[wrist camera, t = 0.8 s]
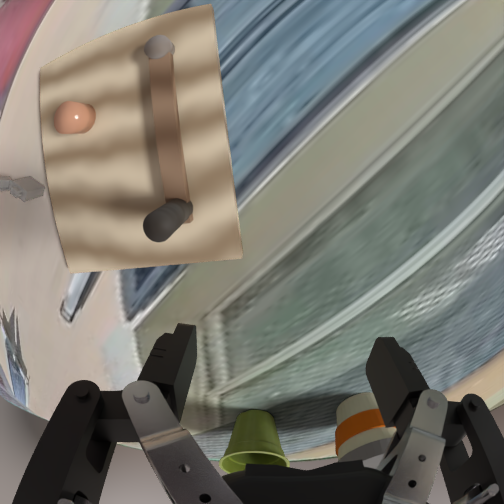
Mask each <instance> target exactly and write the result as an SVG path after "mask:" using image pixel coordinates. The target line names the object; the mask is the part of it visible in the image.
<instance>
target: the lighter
mask: <svg viewBox="0 0 504 504" xmlns="http://www.w3.org/2000/svg"><path fill="white" fill-rule="evenodd" d="M44 189H45V186H44V185H43V184H41V183H40V182H38V181H37V180H35V179H34V178H33V177H31V176H29V177H25V178H21V179H17V180H13V181H12V180H11V178H10V177H7V176H0V191H9V190H10V194H12V195H13V196H14V197H15V198H20V199H21V200H22V201H24V202H26V201H28V200H31V199H34V198H37V197H40V196H43V193H44Z"/></svg>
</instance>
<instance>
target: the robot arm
mask: <svg viewBox="0 0 504 504" xmlns="http://www.w3.org/2000/svg"><path fill="white" fill-rule="evenodd" d="M196 359H197V339H196V326H195V325H189V324H182V323H178V324H177V327H176V329H175V331H174V333H173V334H170V333H164V334H163V335H162V336H161V337H159V338H158V339H157V340H156V342H155V344H154V346H153V349H152V351H151V353H150V356H149V357H148V359H147V361H146V363H145V365H144V367H143V369H142V371H141V373H140V375H139V377H138V380H137V381H135V382H132V383H130V384H128V385H127V386H126V387H125V388H124V389H123V390H121V391H100V389H99V387H98V386H97V385H96V384H95V383H93V382H91V381H88V380H80V381H76V382H74V383H72V384H71V385H70V386H69V387H68V388H67V390H66V391H65V393H64V395H63V397H62V398H61V400H60V402H59V404H58V406H57V408H56V409H55V411H54V413H53V415H52V417H51V419H50V421H49V423H48V424H47V427H46V429H45V430H44V432H43V434H42V436H41V438H40V440H39V442H38V445H37V447H36V449H35V451H34V453H33V455H32V457H31V459H30V462H29V464H28V466H27V468H26V470H25V473H24V475H23V478H22V480H21V482H20V485H19V487H18V490H17V492H16V495H15V497H14V500H13V503H12V504H99V500H100V496H101V493H102V489H103V486H104V482H105V479H106V476H107V472H108V469H109V466H110V462H111V459H112V456H113V453H114V450H115V447H116V444H117V442H139V443H140V445H141V447H142V449H143V451H144V453H145V455H146V457H147V459H148V461H149V463H150V465H151V467H152V468H153V470H154V472H155V474H156V476H157V478H158V479H159V481H160V483H161V485H162V487H163V489H164V490H165V492H166V494H167V495H168V497H169V499H170V500H171V502H172V503H173V504H429V503H427V500H428V497H429V494H430V491H431V489H432V486H433V483H434V480H435V477H436V474H437V471H438V467H439V465H440V468H441V471H442V474H443V477H444V481H445V484H446V487H447V491H448V494H449V498H450V502H451V504H504V438H503V436H502V434H501V432H500V430H499V428H498V426H497V424H496V422H495V420H494V418H493V416H492V415H491V413H490V411H489V409H488V407H487V406H486V404H485V402H484V401H483V399H482V398H481V397H479V396H478V395H475V394H467V395H465V396H464V397H463V399H462V400H461V402H452V401H447V399H446V397H445V396H444V395H443V394H442V393H441V392H439V391H437V390H433V389H430V388H429V386H428V385H427V383H426V381H425V379H424V377H423V376H422V374H421V372H420V370H419V369H418V367H417V365H416V364H415V363H414V360H413V359H412V357H411V355H410V354H409V353H408V352H407V351H406V350H405V349H404V348H402V347H400V346H399V345H398V343H397V341H396V340H395V338H394V337H378V338H377V339H376V341H375V343H374V346H373V348H372V351H371V353H370V356H369V358H368V361H367V363H366V375H367V378H368V381H369V383H370V386H371V389H372V391H373V394H374V397H375V399H376V402H377V405H378V408H379V410H380V413H381V416H382V419H383V422H384V424H385V427H386V428H389V427H396V431H395V433H394V434H393V436H392V439H391V441H390V443H389V445H388V447H387V449H386V451H385V453H384V455H383V457H382V459H381V461H380V463H379V465H378V466H377V468H376V469H374V468H369V467H364V465H363V460H354V461H346V462H337V463H333V464H330V465H327V466H324V467H320V468H316V469H313V470H307V471H306V470H300V469H295V468H290V467H285V466H280V465H269V464H248V463H246V466H245V470H243V471H237V472H233V473H230V474H227V475H224V476H222V477H221V476H220V475H219V473H218V472H217V470H216V469H215V468H214V466H213V465H212V464H211V462H210V461H209V460H208V458H207V457H206V456H205V454H204V453H203V451H202V450H201V448H200V447H199V446H198V444H197V443H196V441H195V440H194V438H193V437H192V435H191V434H190V432H189V431H188V430H187V429H183V428H182V427H181V425H180V424H179V423H180V420H181V416H182V413H183V409H184V405H185V402H186V398H187V394H188V391H189V387H190V383H191V380H192V376H193V373H194V369H195V365H196ZM465 435H467V436H468V439H469V441H470V443H471V446H472V449H473V451H472V455H471V457H470V458H469V456H468V454H467V451H466V448H465V446H464V444H463V441H462V439H463V438H464V437H465Z"/></svg>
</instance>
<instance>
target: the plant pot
mask: <svg viewBox="0 0 504 504" xmlns="http://www.w3.org/2000/svg"><path fill="white" fill-rule="evenodd" d="M246 463H248V464H269V465H280V466H285V467H289V465H290V463H289V461H288V459H287V458H285V455H284V452H283V450H282V448H281V444H280V440H279V437H278V433H277V429H276V425H275V421H274V418H273V417H272V416H271V415H270V414H269V413H268V412H266V411H262V410H249V411H247V412H243V413H240V414H239V415H238V416H237V419H236V422H235V426H234V429H233V432H232V435H231V439H230V442H229V445H228V448H227V449H226V451H225V454H224V456H223V457H222V458H221V459H220V461H219V466H220V468H221V469H222V470H223V471H225V472H226V473H228V474H230V473H233V472H237V471H243V470H245V466H246Z"/></svg>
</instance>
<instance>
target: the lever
mask: <svg viewBox="0 0 504 504" xmlns="http://www.w3.org/2000/svg"><path fill="white" fill-rule="evenodd" d="M144 52H145V54H146V56H148V57H149V72H150V85H151V97H152V107H153V117H154V125H155V134H156V142H157V149H158V157H159V164H160V170H161V177H162V183H163V189H164V195H165V201H166V204H164V205H162V206H161V207H159V208H157V209H156V210H154V211H153V212H151V213H149V214H148V215H147V216H146V217H145V219H144V221H143V230H144V233H145V235H146V236H147V237H148V238H149V239H150V240H152V241H154V242H164V241H166V240H167V239H168V238H169V237H170V236H171V235H172V234H173V233H174V232H175V231H176V230H177V229H178V228H179V227H180V226H181V225H182V224H187V223H191V222H192V221H193V220H194V219H193V204H192V202H191V201H190V195H189V188H188V181H187V175H186V168H185V161H184V153H183V146H182V138H181V130H180V122H179V113H178V104H177V95H176V84H175V74H174V62H173V54H174V52H175V46H174V44H173V43H172V42H171V41H170V40H169V39H168V38H167V37H166V36H164V35H156V36H154V37H152V38H150V39H149V40H148V41H147V42H146V44H145V47H144Z"/></svg>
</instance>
